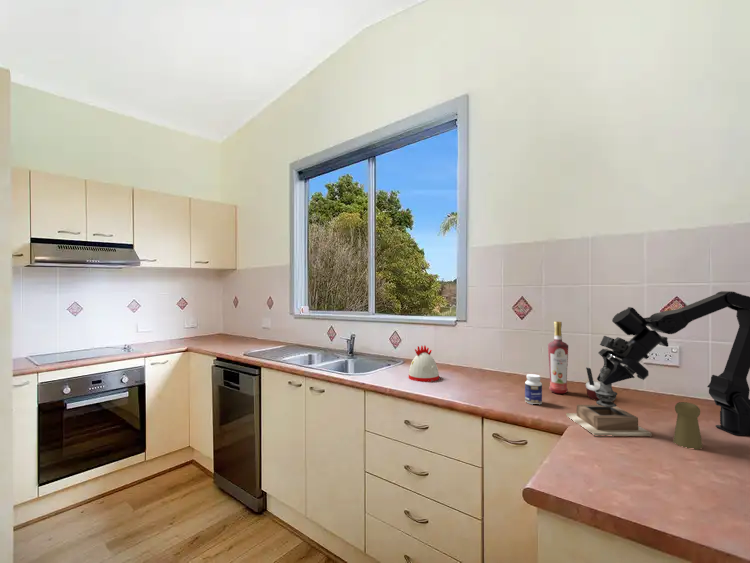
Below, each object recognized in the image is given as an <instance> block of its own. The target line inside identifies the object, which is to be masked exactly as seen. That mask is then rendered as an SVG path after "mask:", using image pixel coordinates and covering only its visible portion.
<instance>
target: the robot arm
mask: <svg viewBox="0 0 750 563" xmlns="http://www.w3.org/2000/svg"><path fill="white" fill-rule="evenodd" d="M726 308H728V309H730V310H733V311H736V319H737V320H736V321H737V322H738V330H737V332H736V335H735V338H734V340H733V341H734V342H733V344H732V346H731V350H730V351H729V352H730V353H729V355H728V358H727V360H726V361H727V362H726V364H725V367H724V369H723V371H722V372H721V373H720V374H719V375H717V374H712V375H711V376H710V381H709V384H708V385H707V386H706V387H707V388H708V394H709V395H710V397H711V398H712V399H713V401H714V404H715V405H716V406H718V407H720V410H719V424H715V427H716V428H718V429H719V430H722V431H725V432H727V433H729V434H732V435H734V436H750V386H749V383H748V380H747V377H748V375H749V373H750V296H748V295H745V294H742V293H738V292H735V291H730V290H729V291H728V290H726V291H725V290H721V291H718V292H716V293H715V294H712V295H709V296H707V297H705V298H703V299H701V300H698V301H695V302H693V303H691V304H688V305H685V306H683V307H680V308H677V309H672V310H664V311H660V312H656V313H652V314H651V315H650V316H649V317H643V316H642V315H641V314H639V312H638V311H637V310H636V308H634V307H631V306H628V307H627V308H626V309H624V310H621V311H620V312H618V313H616V314H615V315H614V316H613V317H612V319H611V320H612V323H614V324H615V326H617V327H618V328H619V330H621V331H622V332H624V334H625V335H627V336H633V337H632V338H630V340H626V339H625V338H621V337H618V336H617V337H616V338H613V337H609V336H606V335H603V337H602V339H601V341H600V344H599V345H600V346H601V347H605V348H602V349H600V351H598V354H599V355H600V357H602V359H603V365H602V368H604V367H605V365H606V367H607V368H609V369H610V370H611V372H610V373H609V375H608V376H607V377H606V378H605V380H604V381H603V384H605V385H608V384H611V383H612V384H614V383H617V382H620V381H621V382H622V381H626V380H629V379H634V378H635V376H634V375H635V374H636V377H637V378H638V379H640V380H642V381H644V380H646V379H647V377H649V370H648V369H647V368H646V367H645V366H644V365H643V364H641V363H640V362H641V361H642V360H643V359H645V360H648V359H649V358H650V356H649V355H648V354H650V353H651V352H652V351H653V350H654V349H655V348H656V347H657V346H658V345H660V346H661V347H662V346H663V347H669V341H668V339H669V338H668V337H666V336H661V334H660V333H662V334H667V335H674V334H676V333H678V332H680V331H681V330H684V329H685V328H686V327H687V326H688V325H689V324H690V323H692V322H694V321H695V320H698V319H701V318H702V317H706V316H708V315H711V314H713V313H716V312H719V311H720V310H723V309H726ZM649 328H650V329H649ZM599 379H600V373H599V374H598V376H597V378H596V381H597V382H599V383H600V380H599Z"/></svg>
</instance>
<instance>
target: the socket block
mask: <svg viewBox="0 0 750 563" xmlns="http://www.w3.org/2000/svg"><path fill="white" fill-rule="evenodd" d="M565 415H566V418H568V417H569V418H570V419H569V418H568V419H569V420H571V419H572V420H573V421H574V423H575V422H576V423H578V424H579V425H581V426H582V427H584V428H585V429H587V430H588V431H589V432H591V433H592V434H594V435H612V436H611V437H614V436H650V437H651V438H652V432H651V431H649V430H647V429H645V428H643V427H641V426H639V417H638V416H635V415H633V414H632V413H630V412H628V411H627V410H626V411H625V410H624V409H622V408H620V407H619V406H615V407H605V406H601V405H598V404H576V412H572V413H571V412H570V413H569V412H568V413H566V414H565ZM572 420H571V421H572ZM573 421H572V422H573ZM576 423H575V424H576ZM578 424H577V425H578ZM579 425H578V426H579ZM582 427H581V428H582ZM589 432H588V433H589Z"/></svg>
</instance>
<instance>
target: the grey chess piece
mask: <svg viewBox="0 0 750 563" xmlns="http://www.w3.org/2000/svg"><path fill="white" fill-rule="evenodd" d="M610 372H611V370H610V369H609V368H607V367H606V365H605V367H604V368H603V367H602V368H600V370H599V374H600V379H599V380H600V382H599V383H600V388H599V389H598V390H595V392H596V395H597V397H598V398H599V399H600V400H596V402H595V403H596V405H601V406H605V407H615V406H617V404H616V403H615V402H614V401H615V400H616V398H617V395H618V393H617V392H616V391H614V390H613V386H612V384H613V383H611V384H608V385H605V384H603V381H604V380H605V378H606V377H607V376H608V375H609V373H610ZM617 407H618V406H617Z"/></svg>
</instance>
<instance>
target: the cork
mask: <svg viewBox="0 0 750 563" xmlns="http://www.w3.org/2000/svg"><path fill="white" fill-rule="evenodd" d="M674 410H675V412H676V414H677V417H676V422H675V428H674V434H673V440H672V441H673V443H674V444H675V443H676V444H678V445H677V446H679V445H680V446H679V447H681V446H683V447H682V448H685V447H687V448H686V449H689V448H694V449H693V450H701V449H700V448H702V447H703V441H702V435H701V431H700V429H701V428H700V425H699V419H698V418H699V417H700V414H701V409H700V407H699V406H698V405H697V404H694V403H691V402H685V401H684V402H683V401H679V402H677V403H675V405H674ZM676 444H675V445H676ZM703 448H704V447H703ZM703 448H702V449H703Z"/></svg>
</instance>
